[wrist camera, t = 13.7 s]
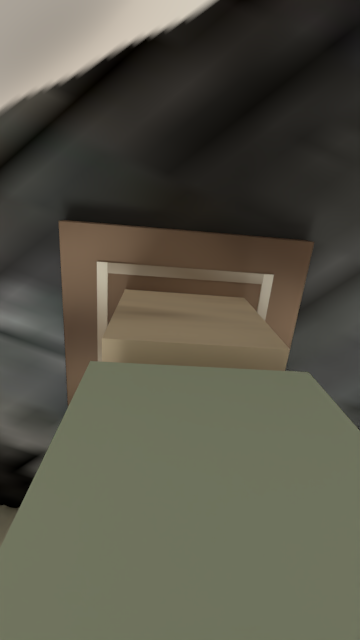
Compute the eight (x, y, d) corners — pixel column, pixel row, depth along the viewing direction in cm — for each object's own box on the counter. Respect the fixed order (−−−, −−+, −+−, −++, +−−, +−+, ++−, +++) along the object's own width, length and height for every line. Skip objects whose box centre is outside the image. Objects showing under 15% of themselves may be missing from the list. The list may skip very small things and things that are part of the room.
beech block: (227, 398, 18) (257, 488, 12) (122, 393, 17) (102, 484, 12) (244, 297, 16) (289, 349, 10) (125, 289, 15) (101, 338, 9)
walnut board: (263, 430, 20) (269, 442, 19) (73, 423, 19) (68, 436, 18) (305, 240, 16) (315, 242, 15) (65, 219, 15) (57, 221, 14)
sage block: (269, 524, 11) (388, 882, 5) (93, 522, 10) (5, 912, 5) (308, 372, 9) (584, 688, 3) (90, 361, 8) (-77, 708, 2)
